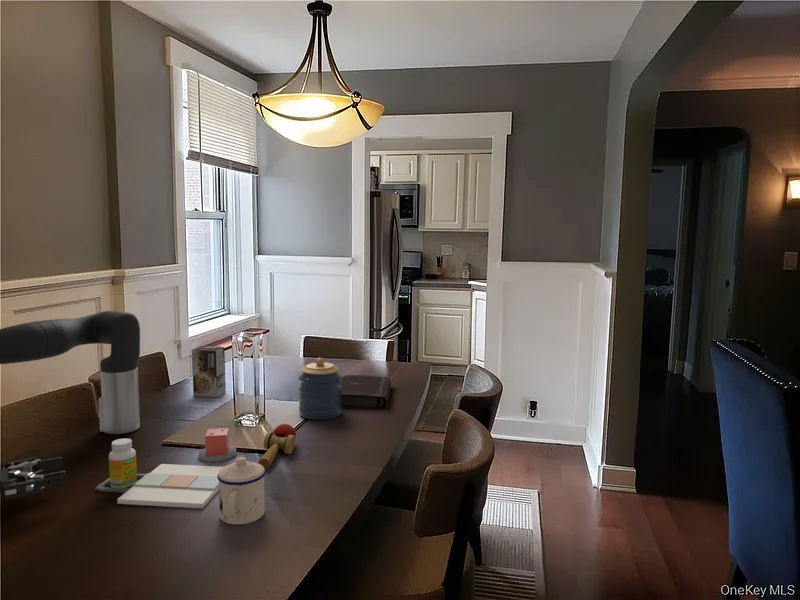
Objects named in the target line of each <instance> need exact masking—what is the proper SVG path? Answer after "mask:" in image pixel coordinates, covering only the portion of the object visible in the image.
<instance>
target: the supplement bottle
mask: <svg viewBox="0 0 800 600" xmlns="http://www.w3.org/2000/svg"><path fill="white" fill-rule="evenodd" d="M132 447H133V440H132V439H131V438H118V439H115V440H113V441H112V442H111V451H110V453H109V454H108V468H109V478H110V483H109V485H110V487H113V488H131V487H132V486H133V485H134V484H135V483H136V482H138V478H137V474H138V472H137V471H138V470H137V452H136V450H135V449H134V448H132Z"/></svg>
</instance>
